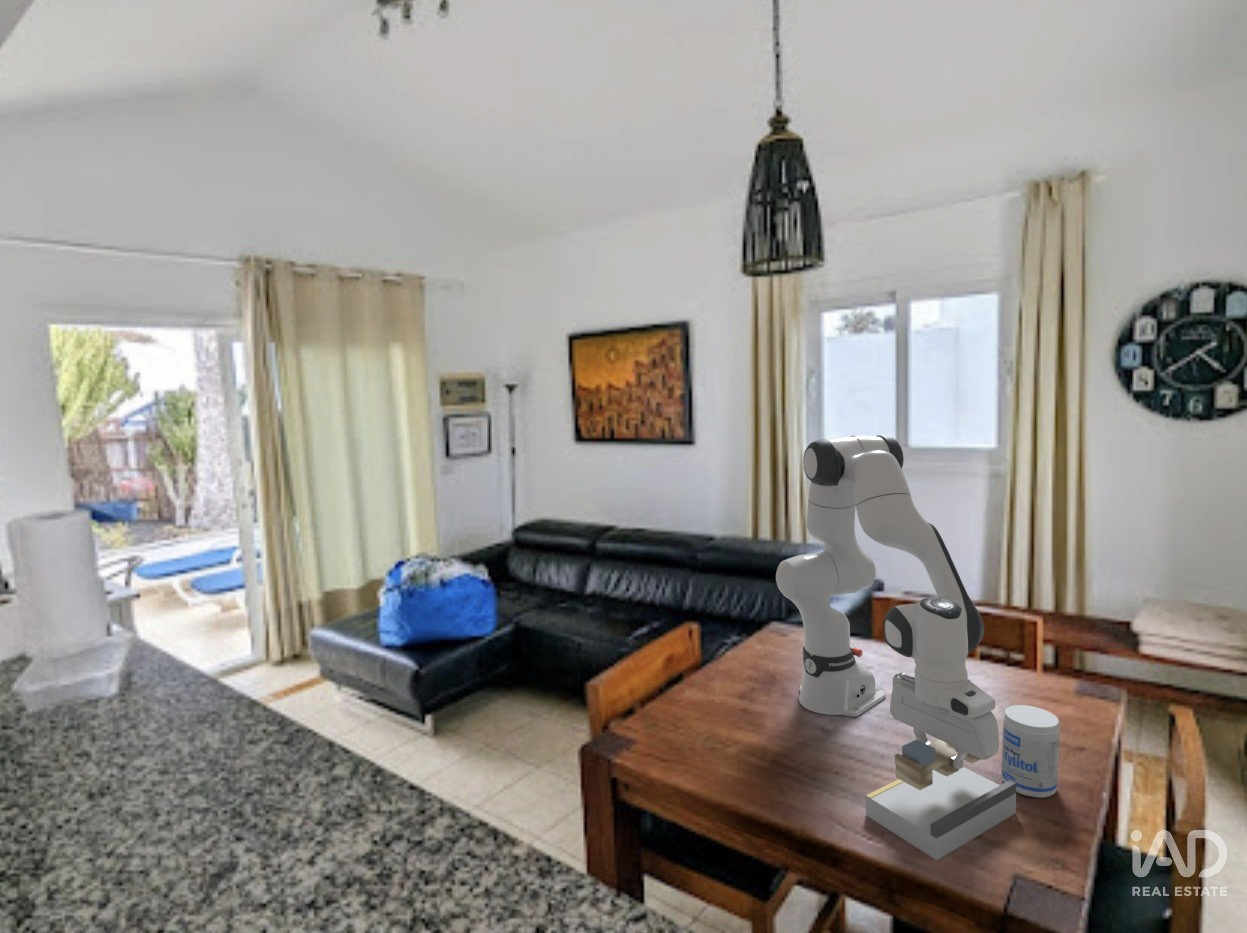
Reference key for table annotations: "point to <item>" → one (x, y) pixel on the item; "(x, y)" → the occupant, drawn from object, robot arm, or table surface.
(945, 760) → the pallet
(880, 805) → the dock
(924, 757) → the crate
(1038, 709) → the supplement tub
